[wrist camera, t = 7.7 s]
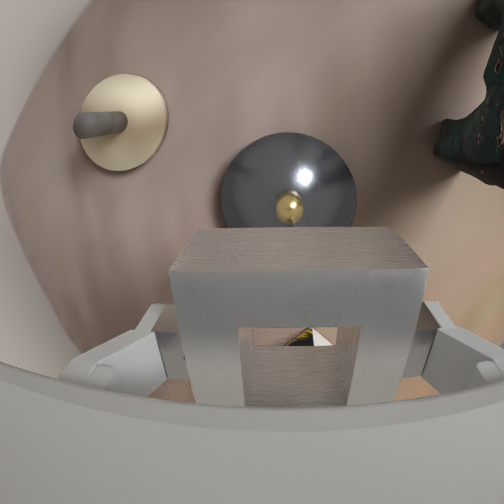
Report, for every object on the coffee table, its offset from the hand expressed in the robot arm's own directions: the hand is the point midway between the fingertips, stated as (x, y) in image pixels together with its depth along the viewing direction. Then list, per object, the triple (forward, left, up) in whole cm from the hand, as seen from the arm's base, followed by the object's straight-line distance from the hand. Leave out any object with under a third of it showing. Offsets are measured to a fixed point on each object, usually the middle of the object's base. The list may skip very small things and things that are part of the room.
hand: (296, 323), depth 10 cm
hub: (0, 0, -16) cm, 16 cm away
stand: (-7, -13, -16) cm, 22 cm away
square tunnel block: (0, 0, -1) cm, 1 cm away
